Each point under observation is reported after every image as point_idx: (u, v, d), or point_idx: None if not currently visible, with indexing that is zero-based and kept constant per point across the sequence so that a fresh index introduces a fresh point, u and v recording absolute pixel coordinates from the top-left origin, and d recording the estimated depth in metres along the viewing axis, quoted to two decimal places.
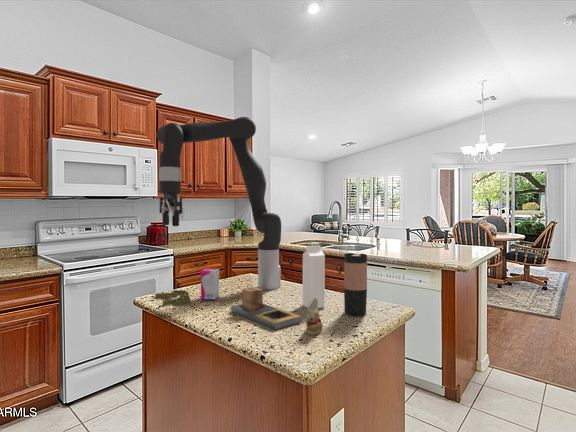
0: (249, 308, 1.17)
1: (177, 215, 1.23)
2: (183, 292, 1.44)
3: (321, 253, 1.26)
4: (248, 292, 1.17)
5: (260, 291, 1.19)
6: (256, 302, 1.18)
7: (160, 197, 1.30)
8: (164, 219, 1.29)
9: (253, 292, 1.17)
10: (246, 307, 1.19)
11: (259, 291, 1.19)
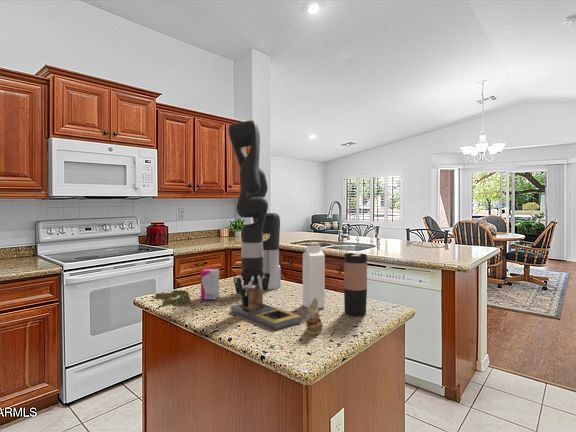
0: (249, 308, 1.17)
1: None
2: (183, 292, 1.44)
3: (321, 253, 1.26)
4: (248, 292, 1.18)
5: (260, 291, 1.19)
6: (256, 302, 1.18)
7: (239, 278, 1.15)
8: None
9: (253, 292, 1.17)
10: (246, 307, 1.19)
11: (259, 291, 1.19)
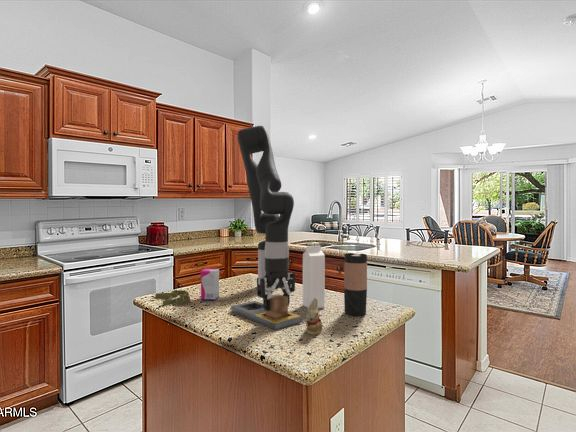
0: (274, 317, 1.07)
1: None
2: (183, 292, 1.44)
3: (321, 253, 1.26)
4: (272, 300, 1.08)
5: (285, 299, 1.10)
6: (281, 311, 1.09)
7: (263, 279, 1.05)
8: None
9: (278, 300, 1.08)
10: (270, 316, 1.09)
11: (284, 299, 1.09)
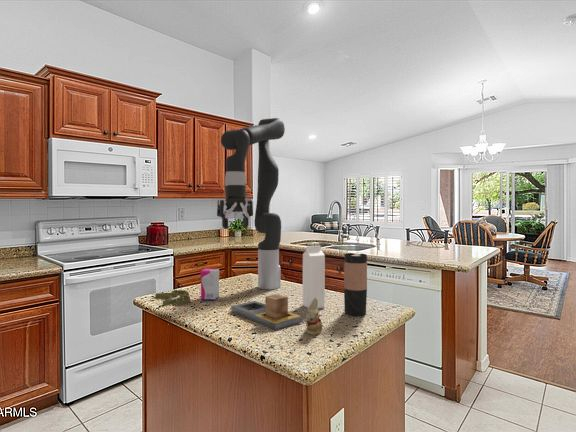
0: (274, 317, 1.07)
1: None
2: (183, 292, 1.44)
3: (321, 253, 1.26)
4: (272, 300, 1.08)
5: (285, 299, 1.10)
6: (281, 311, 1.09)
7: (223, 200, 1.26)
8: None
9: (278, 300, 1.08)
10: (270, 316, 1.09)
11: (284, 299, 1.09)
